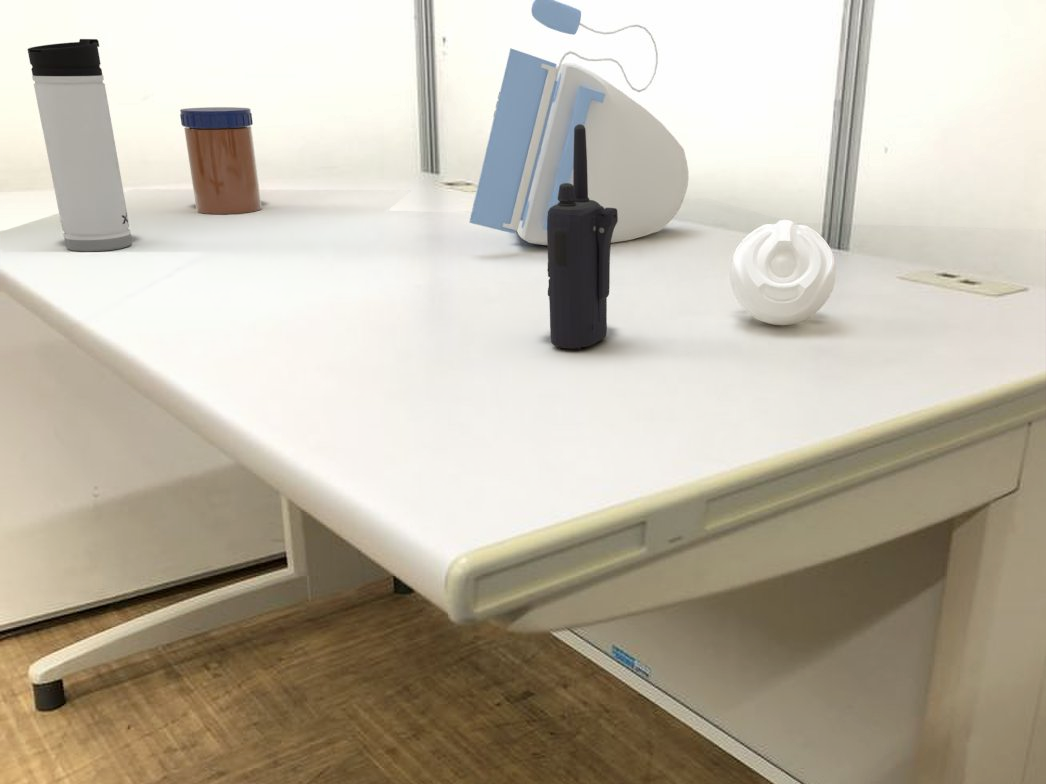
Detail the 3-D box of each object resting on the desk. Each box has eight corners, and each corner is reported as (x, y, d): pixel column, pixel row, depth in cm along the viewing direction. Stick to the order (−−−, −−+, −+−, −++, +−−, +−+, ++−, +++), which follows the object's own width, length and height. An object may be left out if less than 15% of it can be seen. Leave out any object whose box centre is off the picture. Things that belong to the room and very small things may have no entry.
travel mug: (148, 244, 112) (113, 39, 104) (90, 254, 106) (49, 38, 99) (111, 238, 115) (74, 38, 107) (53, 247, 109) (10, 38, 102)
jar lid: (171, 127, 127) (169, 111, 126) (195, 122, 134) (193, 107, 134) (241, 128, 127) (238, 111, 126) (261, 123, 135) (259, 107, 134)
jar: (187, 214, 131) (172, 115, 126) (208, 205, 138) (195, 111, 134) (251, 214, 131) (238, 115, 127) (269, 205, 138) (257, 111, 134)
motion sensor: (725, 333, 80) (729, 228, 77) (731, 309, 86) (735, 213, 84) (833, 337, 79) (841, 232, 76) (830, 313, 86) (837, 216, 83)
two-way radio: (574, 331, 80) (571, 121, 74) (629, 338, 78) (630, 124, 72) (541, 350, 75) (535, 127, 69) (599, 357, 73) (598, 129, 68)
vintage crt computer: (526, -17, 99) (481, -12, 113) (468, 229, 105) (432, 204, 119) (753, 67, 110) (686, 62, 124) (688, 284, 116) (631, 256, 131)
